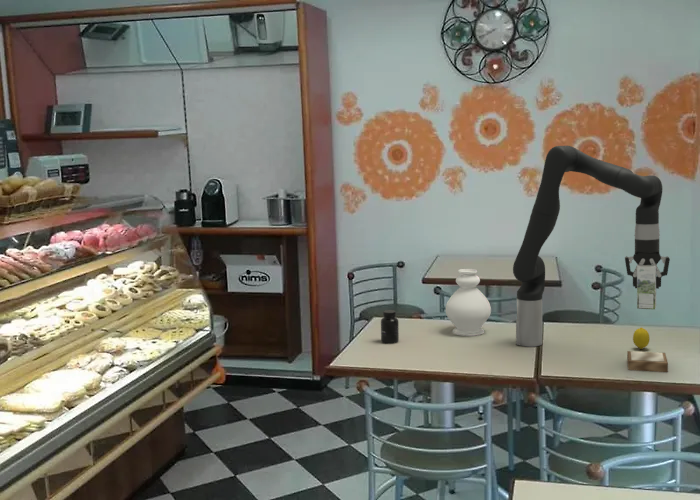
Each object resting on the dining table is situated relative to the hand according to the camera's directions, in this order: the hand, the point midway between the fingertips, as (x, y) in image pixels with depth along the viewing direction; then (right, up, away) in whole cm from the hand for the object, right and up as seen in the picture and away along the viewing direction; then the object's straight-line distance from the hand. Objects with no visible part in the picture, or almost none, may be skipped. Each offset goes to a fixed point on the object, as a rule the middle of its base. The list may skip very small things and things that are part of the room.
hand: (646, 287), depth 253 cm
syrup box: (0, -7, +1) cm, 7 cm away
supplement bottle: (-82, -23, +45) cm, 96 cm away
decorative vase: (-50, -20, +55) cm, 77 cm away
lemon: (+7, -23, +23) cm, 33 cm away
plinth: (+1, -26, +4) cm, 26 cm away
